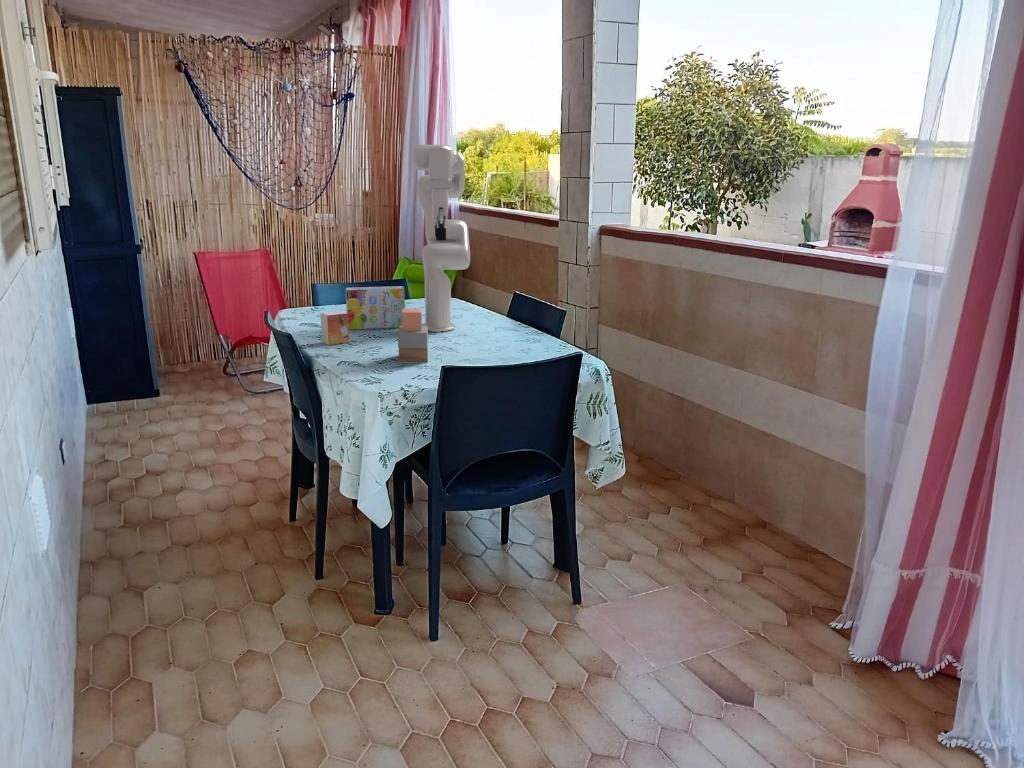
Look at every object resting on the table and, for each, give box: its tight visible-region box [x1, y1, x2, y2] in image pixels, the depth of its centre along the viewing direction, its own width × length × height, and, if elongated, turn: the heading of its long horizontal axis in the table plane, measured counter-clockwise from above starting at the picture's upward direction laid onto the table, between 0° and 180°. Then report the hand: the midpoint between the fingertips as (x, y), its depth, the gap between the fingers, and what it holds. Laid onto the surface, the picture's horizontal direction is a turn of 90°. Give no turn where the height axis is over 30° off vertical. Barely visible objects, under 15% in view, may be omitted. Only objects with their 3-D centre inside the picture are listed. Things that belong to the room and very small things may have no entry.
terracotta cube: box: [402, 308, 423, 331], centre depth 245 cm, size 6×6×6 cm
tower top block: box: [397, 326, 429, 349], centre depth 247 cm, size 9×9×5 cm
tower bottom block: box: [398, 345, 429, 363], centre depth 248 cm, size 9×9×5 cm
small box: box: [320, 310, 350, 346], centre depth 265 cm, size 8×6×10 cm
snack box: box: [345, 285, 406, 330], centre depth 288 cm, size 21×6×15 cm, turn 104°
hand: (440, 238), depth 256 cm, fingers open, 9 cm apart
